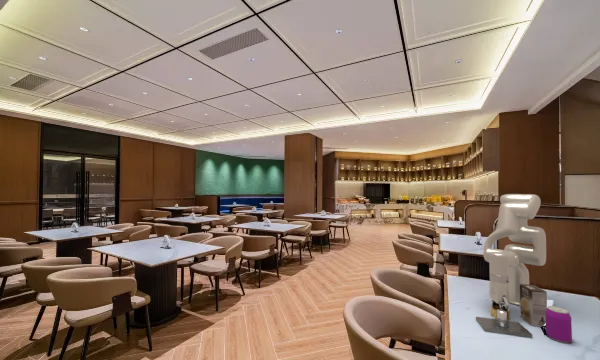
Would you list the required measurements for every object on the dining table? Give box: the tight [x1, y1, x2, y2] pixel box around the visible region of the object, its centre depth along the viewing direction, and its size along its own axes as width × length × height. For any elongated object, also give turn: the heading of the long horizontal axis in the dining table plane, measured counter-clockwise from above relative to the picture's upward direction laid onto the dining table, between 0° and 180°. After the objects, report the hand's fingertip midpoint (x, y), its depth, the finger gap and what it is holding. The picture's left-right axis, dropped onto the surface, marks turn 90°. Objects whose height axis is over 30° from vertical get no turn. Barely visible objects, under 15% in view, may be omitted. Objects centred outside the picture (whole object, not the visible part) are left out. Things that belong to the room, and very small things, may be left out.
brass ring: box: [489, 305, 511, 321], centre depth 127 cm, size 7×7×4 cm
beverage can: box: [545, 305, 573, 344], centre depth 109 cm, size 8×8×12 cm
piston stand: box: [475, 309, 533, 339], centre depth 116 cm, size 17×11×8 cm, turn 74°
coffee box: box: [519, 284, 548, 328], centre depth 123 cm, size 9×6×16 cm
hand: (499, 314), depth 127 cm, fingers closed on brass ring, 7 cm apart
